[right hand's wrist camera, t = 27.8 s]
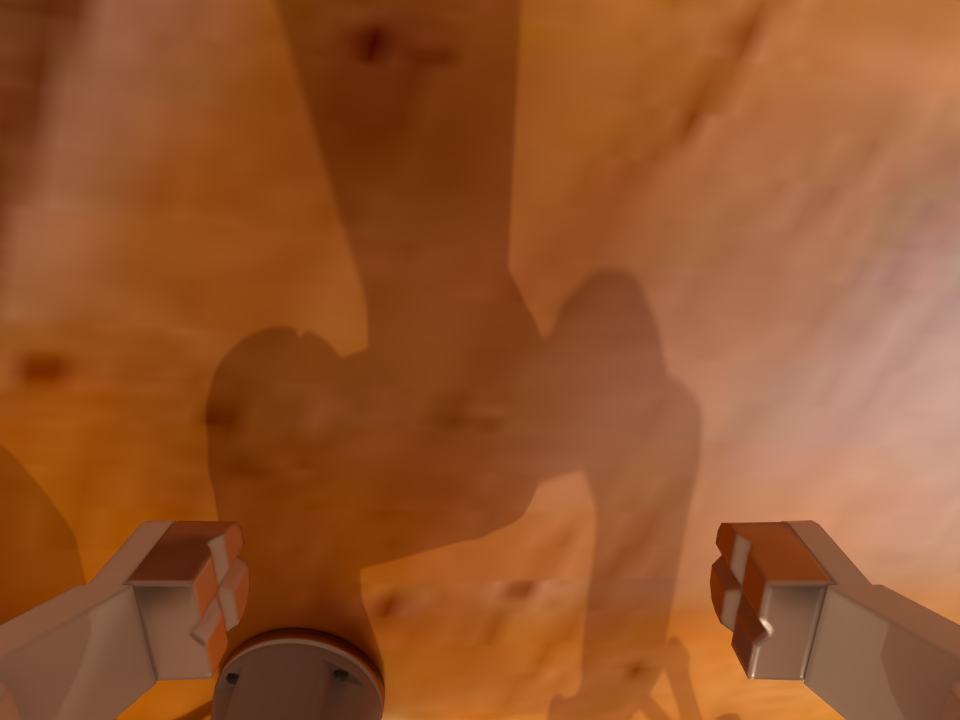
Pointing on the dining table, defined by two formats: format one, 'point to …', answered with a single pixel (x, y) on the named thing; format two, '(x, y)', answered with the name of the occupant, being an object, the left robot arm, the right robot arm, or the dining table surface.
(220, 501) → the dining table surface
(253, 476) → the dining table surface
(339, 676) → the left robot arm
